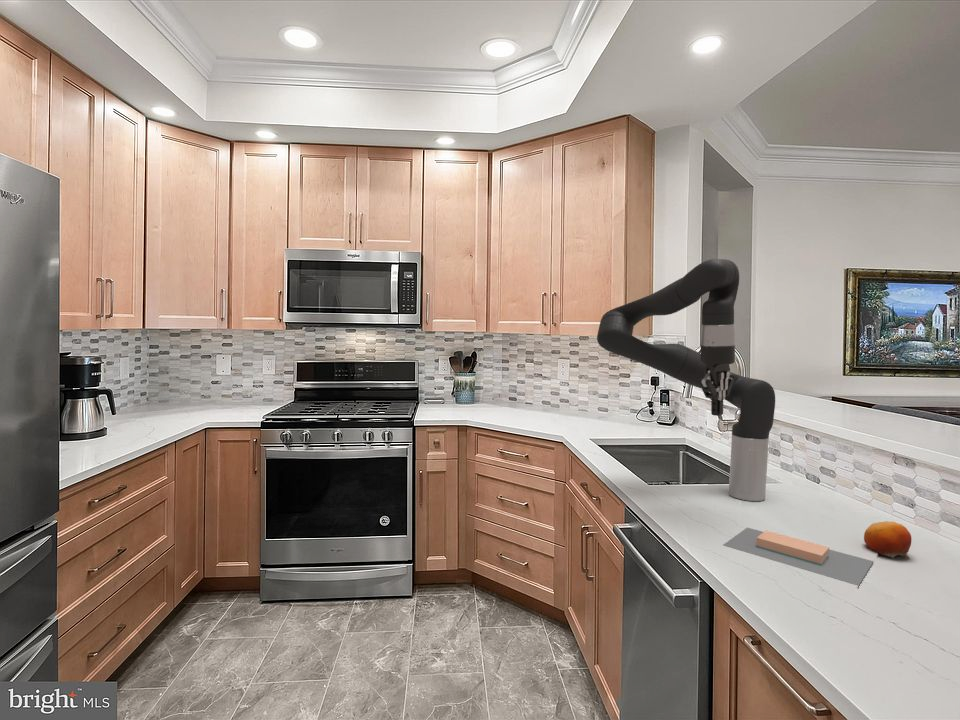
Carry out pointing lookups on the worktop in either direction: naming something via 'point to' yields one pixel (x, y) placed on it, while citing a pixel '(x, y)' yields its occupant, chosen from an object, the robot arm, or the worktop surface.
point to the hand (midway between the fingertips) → (717, 414)
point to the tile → (793, 547)
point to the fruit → (888, 539)
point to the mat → (834, 566)
